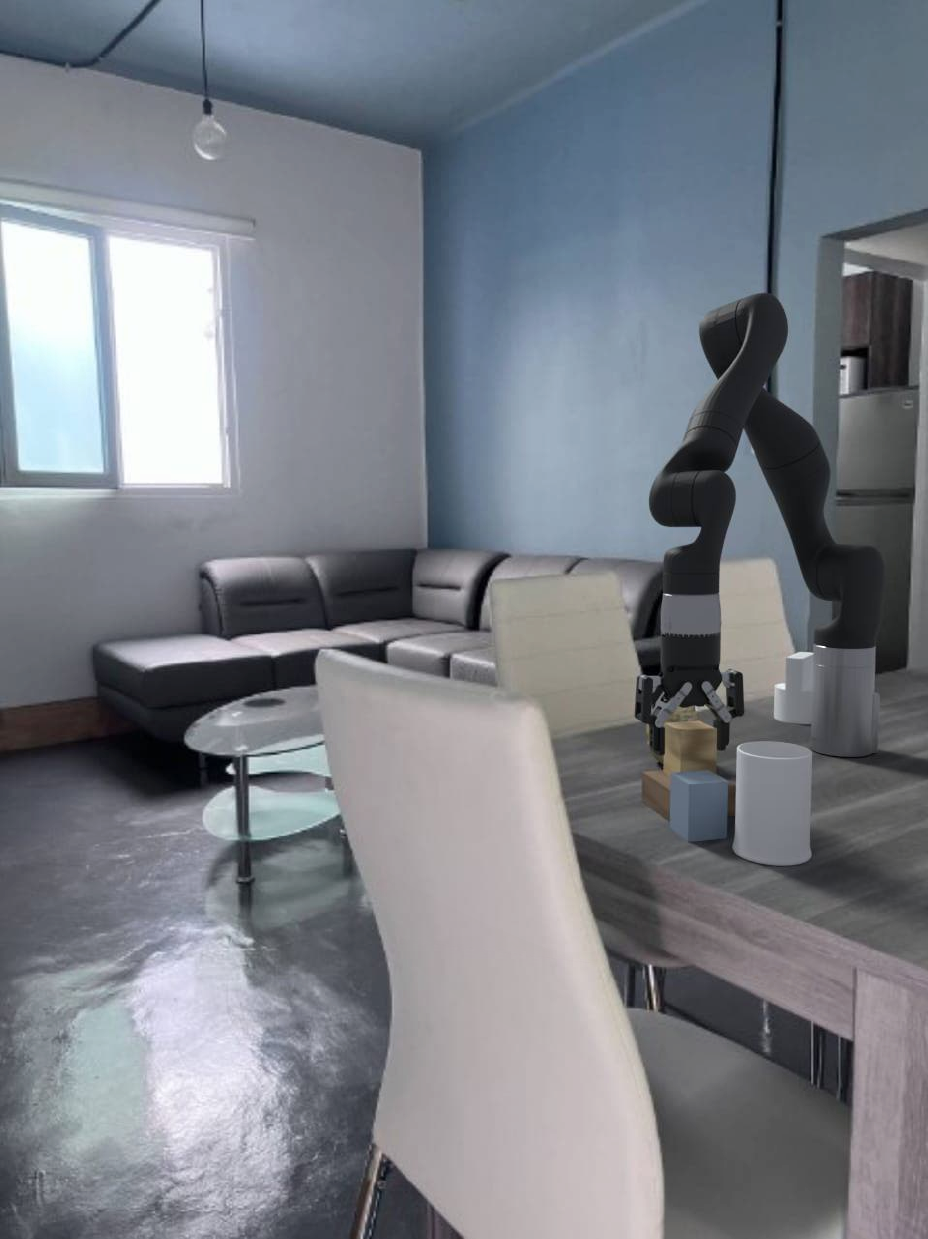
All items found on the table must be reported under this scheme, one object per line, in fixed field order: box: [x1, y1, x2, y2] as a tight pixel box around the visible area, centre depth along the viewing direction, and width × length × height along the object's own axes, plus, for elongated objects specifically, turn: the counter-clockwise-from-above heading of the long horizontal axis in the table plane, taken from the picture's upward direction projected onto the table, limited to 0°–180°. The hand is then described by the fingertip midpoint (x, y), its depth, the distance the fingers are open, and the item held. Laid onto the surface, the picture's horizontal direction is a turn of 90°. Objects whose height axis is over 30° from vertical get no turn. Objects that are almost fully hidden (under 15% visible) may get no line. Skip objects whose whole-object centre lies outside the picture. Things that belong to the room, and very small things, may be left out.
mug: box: [731, 740, 813, 867], centre depth 106 cm, size 12×8×12 cm
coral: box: [645, 706, 703, 765], centre depth 143 cm, size 10×10×10 cm
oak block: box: [662, 720, 718, 778], centre depth 121 cm, size 5×5×7 cm
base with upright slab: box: [773, 651, 813, 725], centre depth 173 cm, size 9×9×12 cm
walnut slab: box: [641, 769, 736, 822], centre depth 121 cm, size 9×9×4 cm
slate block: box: [669, 770, 729, 843], centre depth 112 cm, size 5×5×7 cm
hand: (689, 751), depth 121 cm, fingers open, 8 cm apart
